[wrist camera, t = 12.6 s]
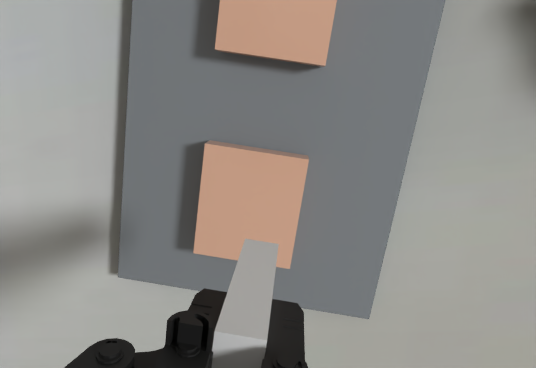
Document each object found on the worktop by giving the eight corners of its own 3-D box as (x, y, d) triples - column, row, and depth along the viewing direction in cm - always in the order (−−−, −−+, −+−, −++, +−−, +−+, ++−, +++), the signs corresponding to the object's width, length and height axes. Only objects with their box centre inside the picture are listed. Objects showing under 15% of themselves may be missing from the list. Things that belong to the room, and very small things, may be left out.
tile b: (308, 154, 27) (210, 139, 28) (308, 159, 26) (204, 143, 26) (290, 258, 29) (199, 243, 30) (289, 269, 28) (193, 253, 28)
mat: (148, -160, 24) (141, -172, 23) (467, -118, 24) (475, -128, 23) (124, 270, 32) (117, 277, 31) (366, 310, 31) (368, 319, 30)
